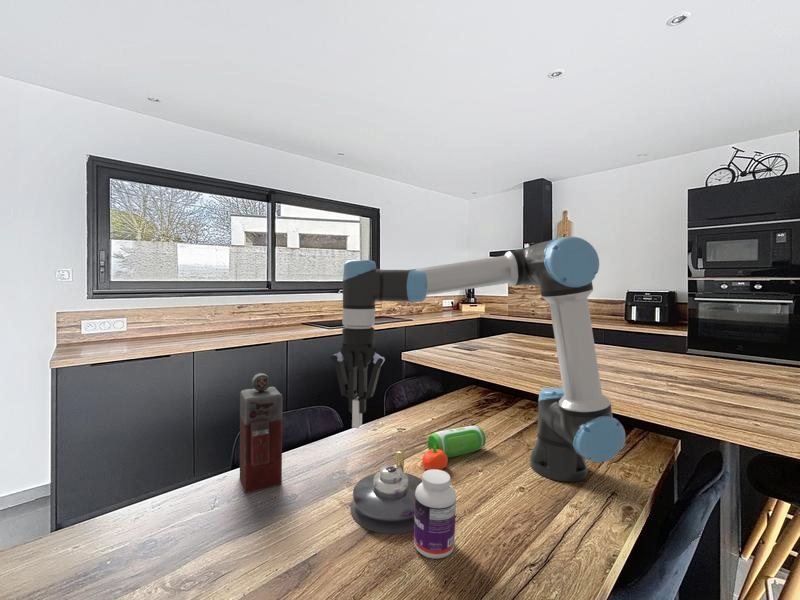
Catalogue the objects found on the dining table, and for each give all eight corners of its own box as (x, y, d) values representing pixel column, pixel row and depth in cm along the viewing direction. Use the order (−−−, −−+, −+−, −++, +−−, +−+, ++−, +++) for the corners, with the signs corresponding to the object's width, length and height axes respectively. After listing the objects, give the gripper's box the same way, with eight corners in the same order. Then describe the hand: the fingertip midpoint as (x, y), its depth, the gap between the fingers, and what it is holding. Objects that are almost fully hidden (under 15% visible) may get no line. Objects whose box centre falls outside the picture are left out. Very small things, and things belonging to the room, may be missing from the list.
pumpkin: (419, 475, 104) (417, 452, 104) (427, 462, 111) (425, 441, 111) (444, 477, 101) (442, 453, 101) (451, 464, 109) (449, 442, 109)
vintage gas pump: (246, 498, 90) (246, 382, 89) (239, 476, 100) (240, 372, 99) (284, 488, 95) (285, 378, 93) (274, 469, 104) (275, 368, 103)
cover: (411, 484, 91) (411, 463, 90) (403, 503, 83) (404, 480, 83) (379, 479, 92) (379, 459, 92) (368, 497, 85) (369, 475, 84)
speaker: (438, 463, 110) (439, 438, 110) (426, 453, 117) (426, 429, 116) (486, 452, 118) (487, 429, 118) (472, 443, 124) (472, 421, 124)
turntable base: (438, 491, 95) (438, 485, 95) (425, 541, 76) (425, 534, 76) (366, 480, 99) (366, 475, 99) (337, 525, 81) (337, 518, 81)
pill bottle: (411, 534, 78) (413, 466, 78) (449, 532, 79) (451, 465, 79) (416, 562, 70) (418, 487, 70) (458, 561, 71) (461, 486, 70)
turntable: (437, 485, 94) (438, 453, 94) (425, 530, 77) (426, 492, 76) (367, 474, 99) (368, 444, 98) (340, 515, 81) (341, 479, 81)
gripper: (389, 326, 90) (388, 423, 91) (338, 323, 93) (337, 417, 94) (380, 329, 83) (378, 435, 84) (326, 326, 86) (324, 428, 87)
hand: (357, 425), depth 89 cm, fingers closed
